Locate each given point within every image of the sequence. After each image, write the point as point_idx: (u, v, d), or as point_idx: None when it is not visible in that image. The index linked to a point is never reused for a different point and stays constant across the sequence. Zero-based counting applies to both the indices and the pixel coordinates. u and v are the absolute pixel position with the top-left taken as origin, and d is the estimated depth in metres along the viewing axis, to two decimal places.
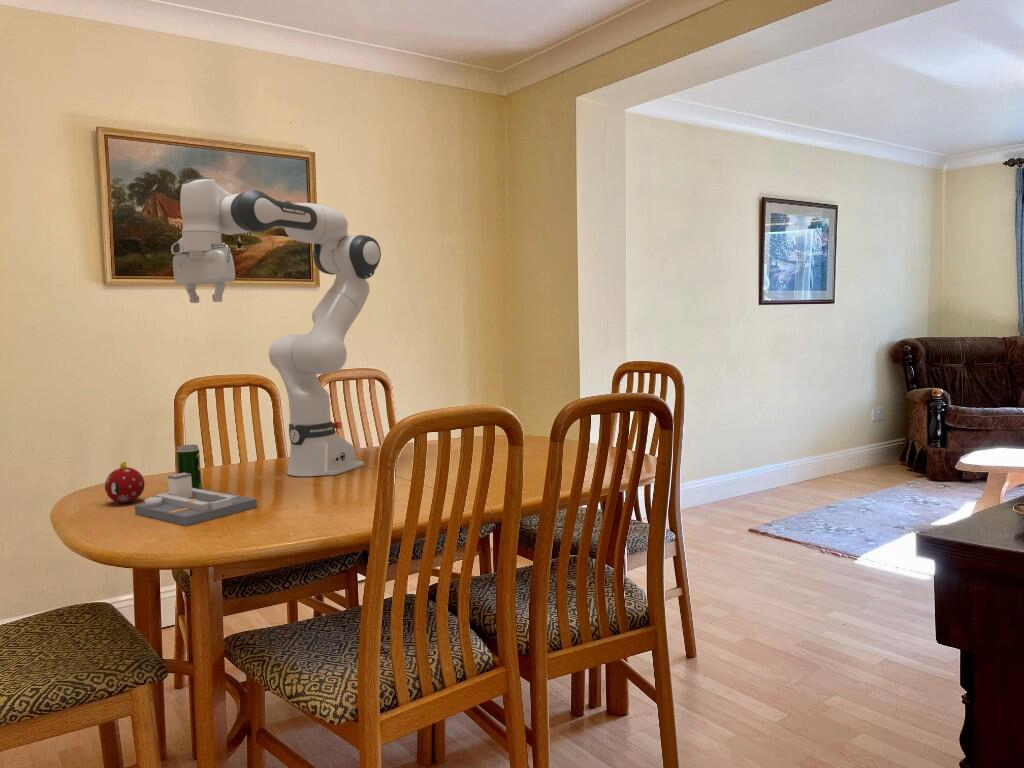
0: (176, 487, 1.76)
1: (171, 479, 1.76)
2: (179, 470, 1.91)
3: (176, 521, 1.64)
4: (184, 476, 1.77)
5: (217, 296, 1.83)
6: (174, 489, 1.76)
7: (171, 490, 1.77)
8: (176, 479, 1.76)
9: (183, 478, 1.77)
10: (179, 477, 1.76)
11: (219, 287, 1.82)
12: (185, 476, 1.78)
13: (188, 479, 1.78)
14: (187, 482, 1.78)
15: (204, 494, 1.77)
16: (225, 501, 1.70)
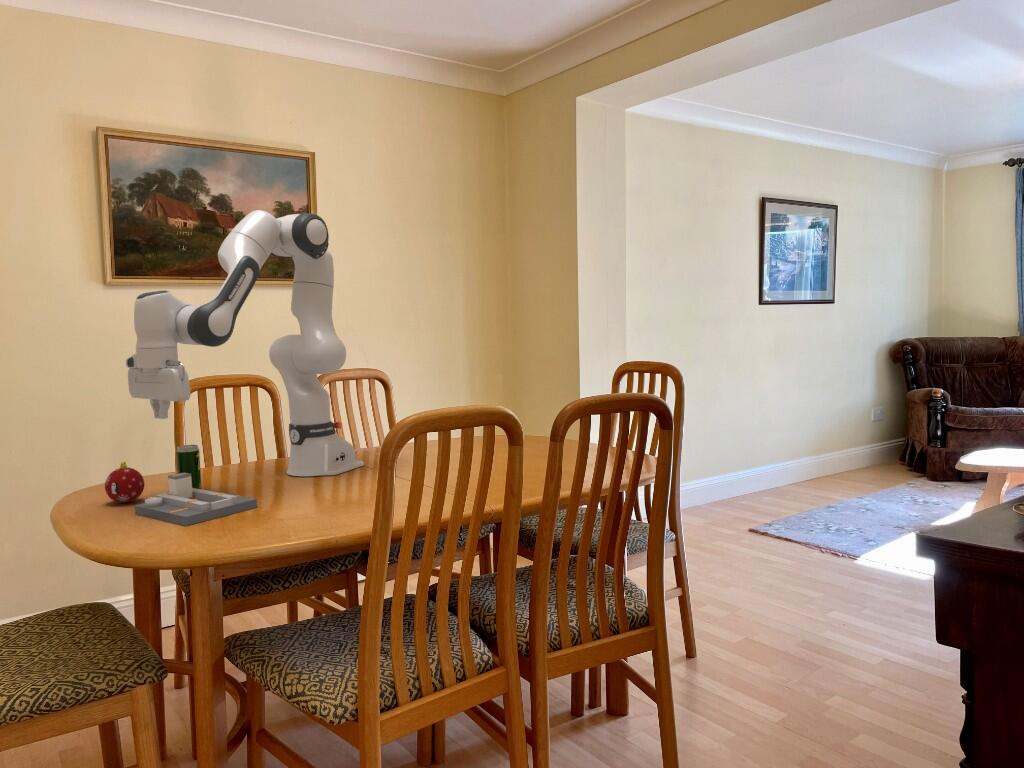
0: (176, 487, 1.76)
1: (171, 479, 1.76)
2: (179, 470, 1.91)
3: (176, 521, 1.64)
4: (184, 476, 1.77)
5: (162, 413, 1.79)
6: (174, 489, 1.76)
7: (171, 490, 1.77)
8: (176, 479, 1.76)
9: (183, 478, 1.77)
10: (179, 477, 1.76)
11: (164, 404, 1.78)
12: (185, 476, 1.78)
13: (188, 479, 1.78)
14: (187, 482, 1.78)
15: (204, 494, 1.77)
16: (225, 501, 1.70)
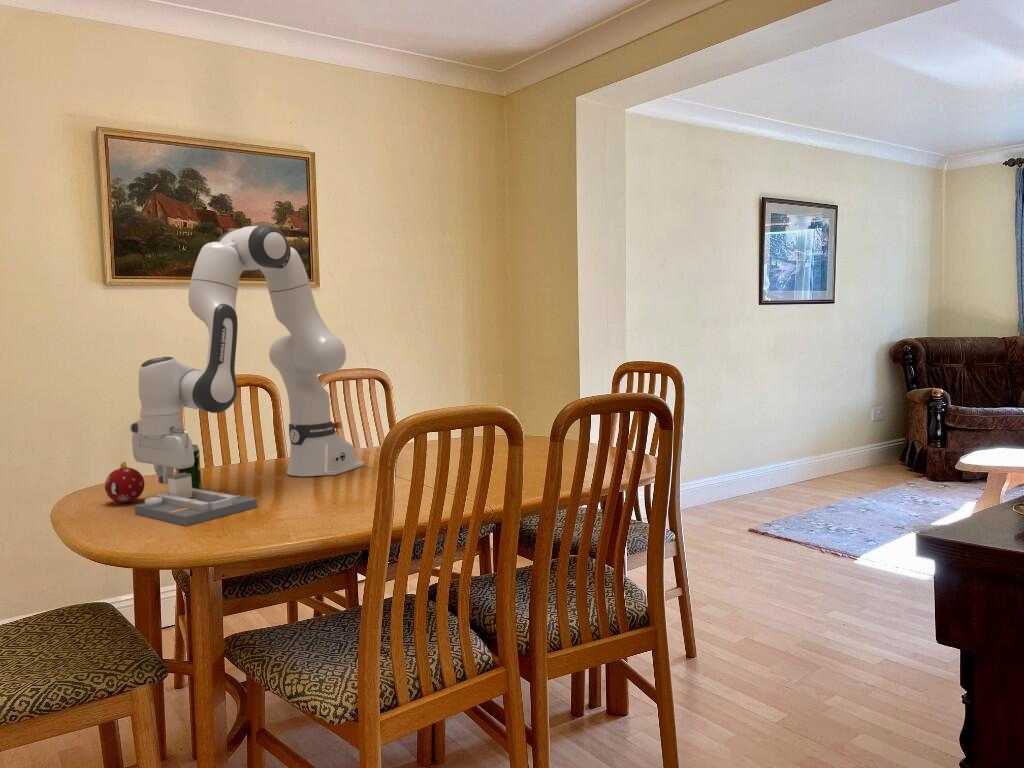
0: (176, 487, 1.76)
1: (171, 479, 1.76)
2: (179, 470, 1.91)
3: (176, 521, 1.64)
4: (184, 476, 1.77)
5: (166, 479, 1.80)
6: (174, 489, 1.76)
7: (171, 490, 1.77)
8: (176, 479, 1.76)
9: (183, 478, 1.77)
10: (179, 477, 1.76)
11: (168, 470, 1.79)
12: (185, 476, 1.78)
13: (188, 479, 1.78)
14: (187, 482, 1.78)
15: (204, 494, 1.77)
16: (225, 501, 1.70)
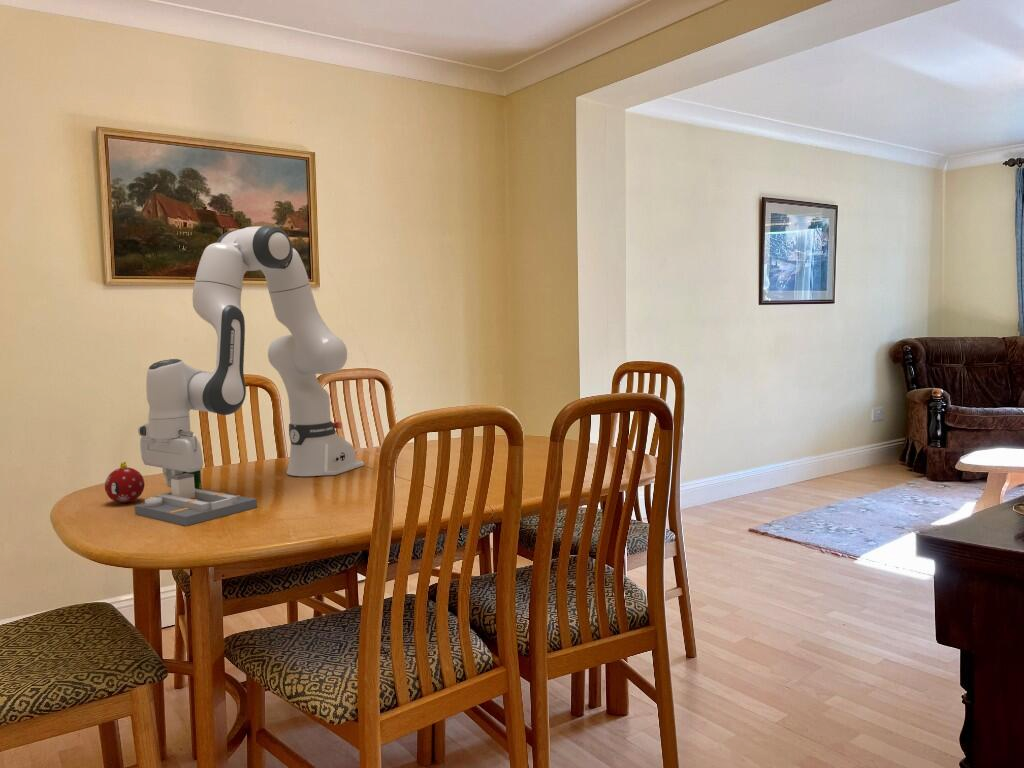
0: (179, 488, 1.75)
1: (174, 479, 1.76)
2: None
3: (176, 521, 1.64)
4: (187, 476, 1.77)
5: None
6: (176, 489, 1.76)
7: (174, 490, 1.76)
8: (179, 479, 1.75)
9: (186, 478, 1.77)
10: (182, 477, 1.76)
11: (176, 474, 1.78)
12: (188, 476, 1.77)
13: (191, 479, 1.78)
14: (189, 482, 1.77)
15: (204, 494, 1.77)
16: (225, 501, 1.70)
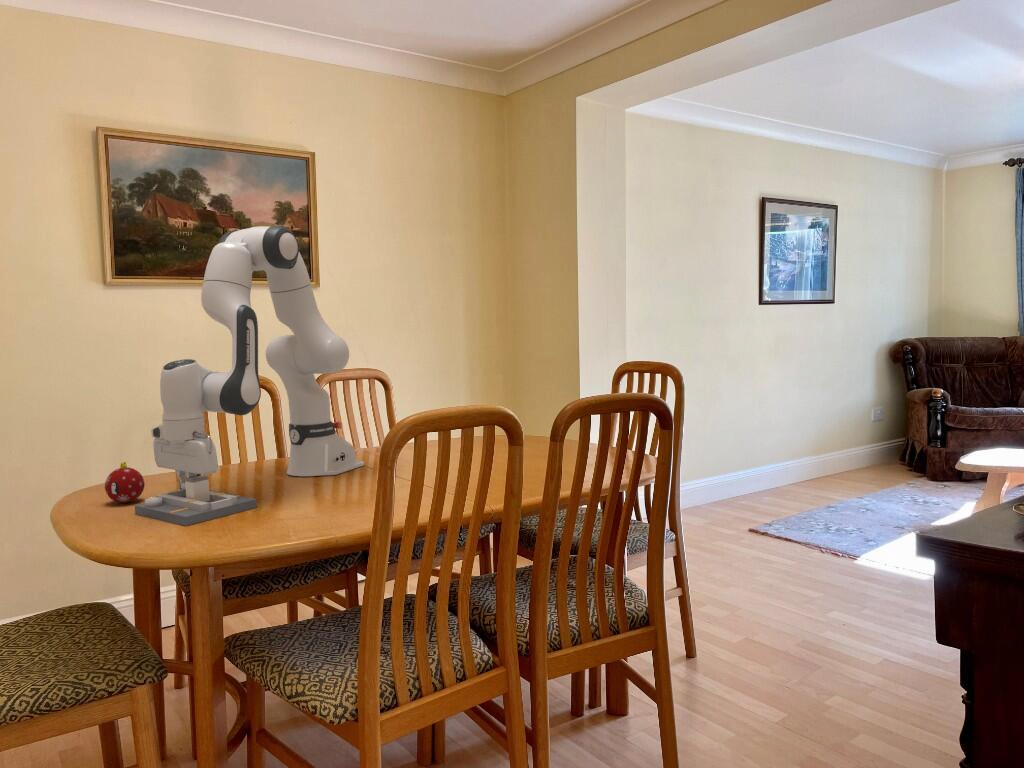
0: (194, 491, 1.72)
1: (188, 482, 1.73)
2: None
3: (176, 521, 1.64)
4: (201, 479, 1.73)
5: None
6: (191, 492, 1.72)
7: (188, 493, 1.73)
8: (193, 482, 1.72)
9: (200, 481, 1.73)
10: (196, 480, 1.72)
11: (191, 476, 1.74)
12: (202, 479, 1.74)
13: (205, 482, 1.74)
14: (204, 485, 1.74)
15: None
16: (225, 501, 1.70)
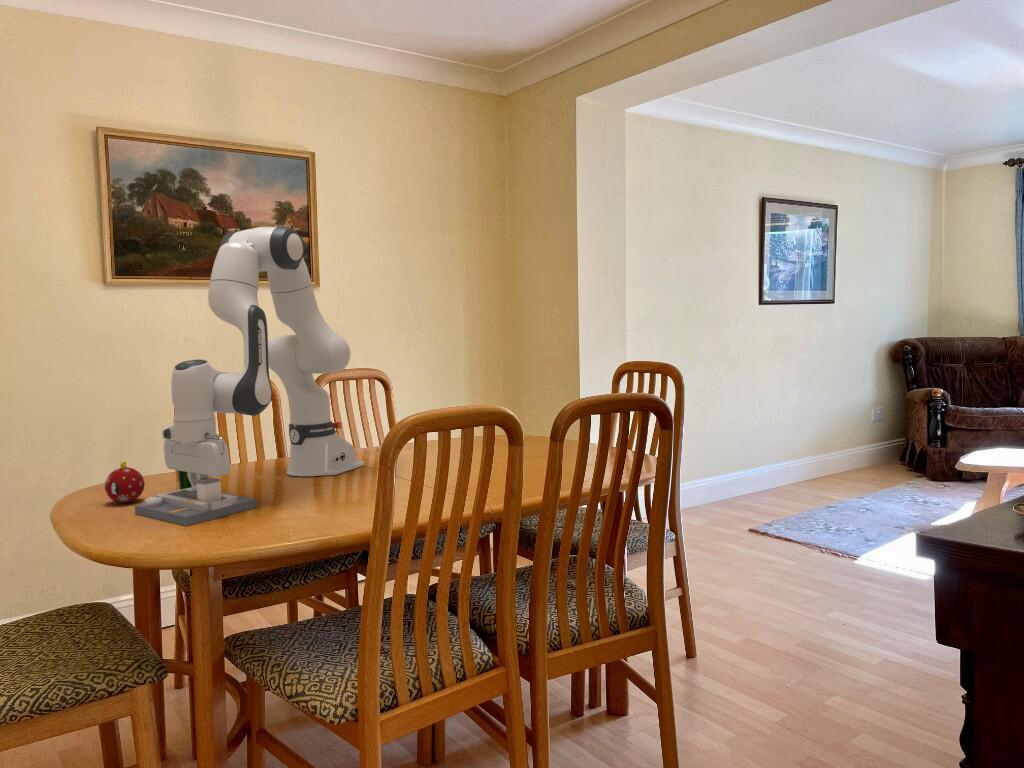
0: (205, 493, 1.69)
1: (200, 484, 1.70)
2: None
3: (176, 521, 1.64)
4: (213, 481, 1.71)
5: None
6: (203, 494, 1.70)
7: (200, 496, 1.70)
8: (205, 484, 1.69)
9: (212, 483, 1.71)
10: (208, 482, 1.70)
11: (202, 478, 1.72)
12: (214, 481, 1.71)
13: (217, 484, 1.72)
14: (216, 487, 1.72)
15: None
16: (225, 501, 1.70)
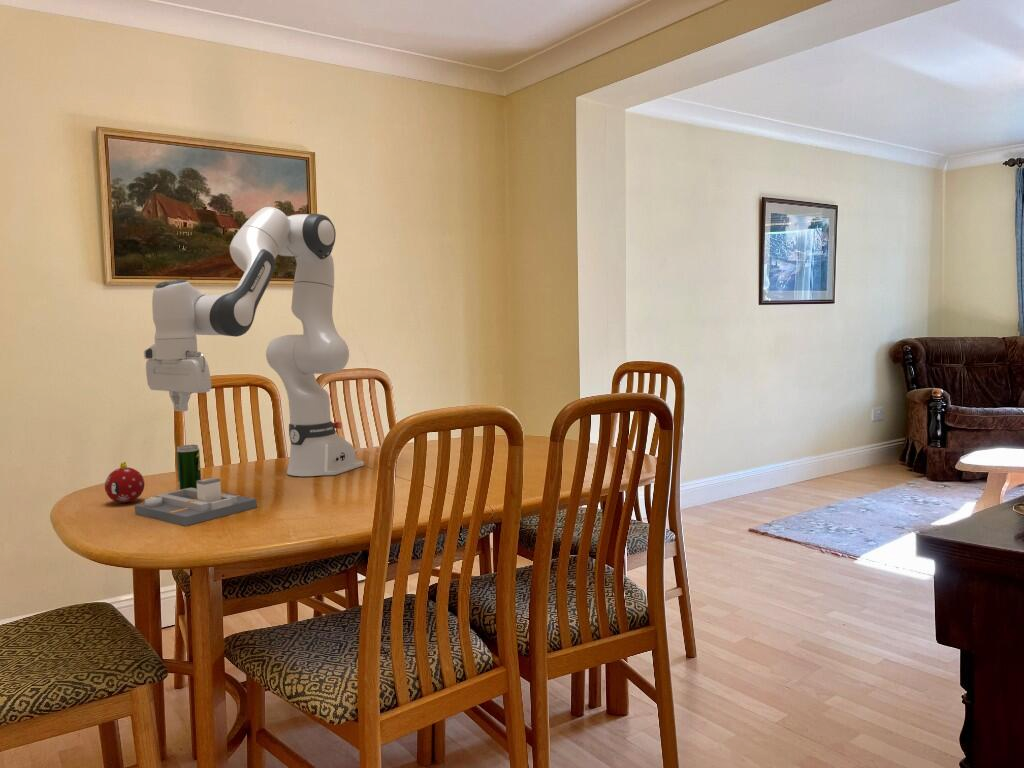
0: (205, 493, 1.69)
1: (200, 484, 1.70)
2: (179, 470, 1.91)
3: (176, 521, 1.64)
4: (213, 481, 1.71)
5: (182, 405, 1.75)
6: (203, 494, 1.70)
7: (200, 496, 1.70)
8: (205, 484, 1.69)
9: (212, 483, 1.71)
10: (208, 482, 1.70)
11: (184, 396, 1.74)
12: (214, 481, 1.71)
13: (217, 484, 1.72)
14: (216, 487, 1.72)
15: None
16: (225, 501, 1.70)
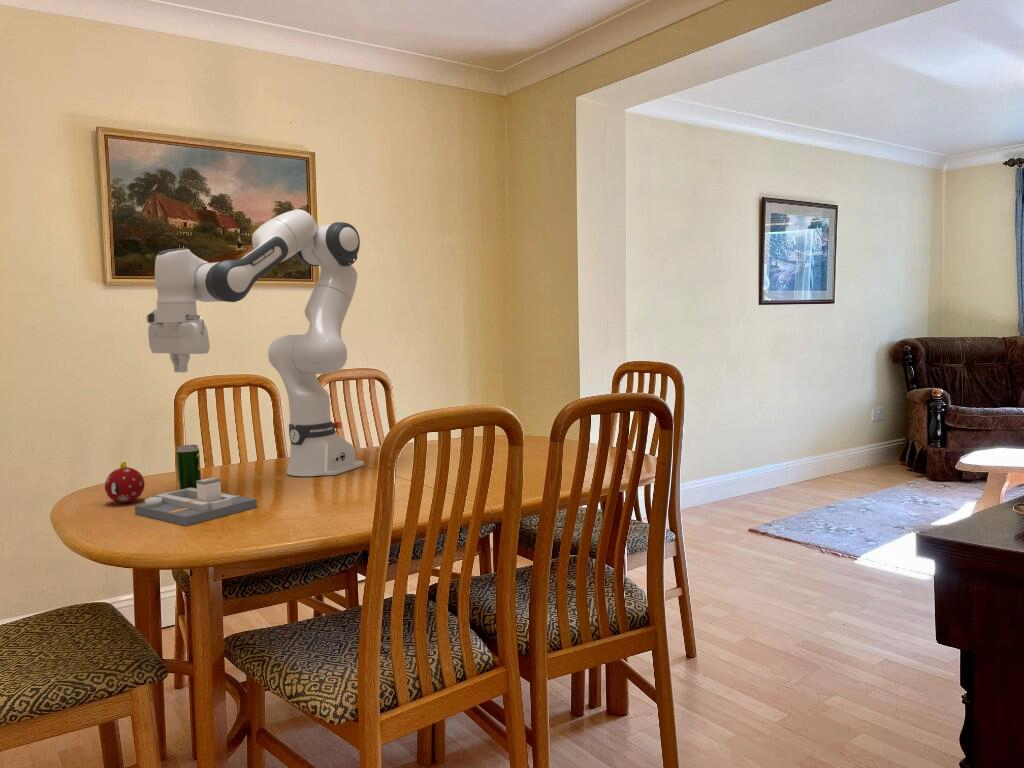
0: (205, 493, 1.69)
1: (200, 484, 1.70)
2: (179, 470, 1.91)
3: (176, 521, 1.64)
4: (213, 481, 1.71)
5: (182, 367, 1.85)
6: (203, 494, 1.70)
7: (200, 496, 1.70)
8: (205, 484, 1.69)
9: (212, 483, 1.71)
10: (208, 482, 1.70)
11: (184, 358, 1.84)
12: (214, 481, 1.71)
13: (217, 484, 1.72)
14: (216, 487, 1.72)
15: None
16: (225, 501, 1.70)
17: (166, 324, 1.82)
